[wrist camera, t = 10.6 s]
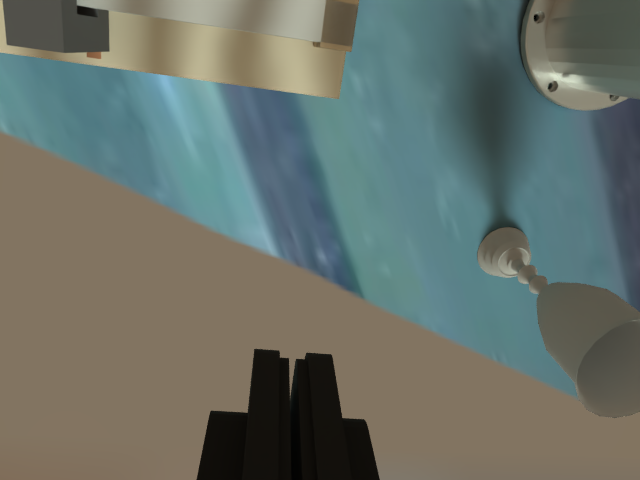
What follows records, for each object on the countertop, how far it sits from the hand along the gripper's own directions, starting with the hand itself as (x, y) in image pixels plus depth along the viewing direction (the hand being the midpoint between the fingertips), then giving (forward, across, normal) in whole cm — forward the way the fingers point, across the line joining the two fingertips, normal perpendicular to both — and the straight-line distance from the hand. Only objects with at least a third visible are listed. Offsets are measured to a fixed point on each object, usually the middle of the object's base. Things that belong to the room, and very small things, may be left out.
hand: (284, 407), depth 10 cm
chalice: (+32, -22, +8) cm, 40 cm away
